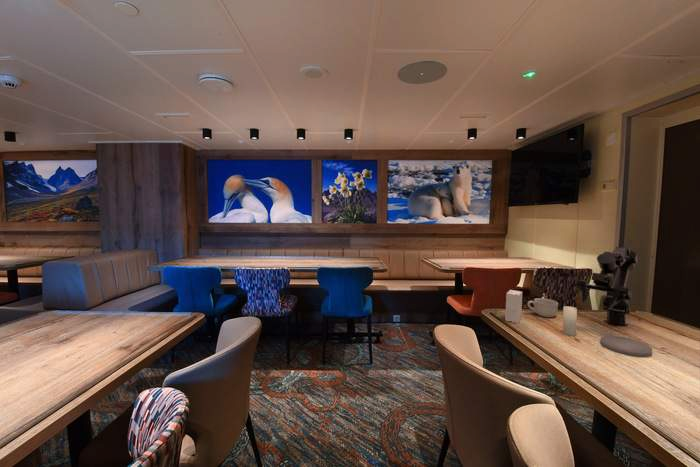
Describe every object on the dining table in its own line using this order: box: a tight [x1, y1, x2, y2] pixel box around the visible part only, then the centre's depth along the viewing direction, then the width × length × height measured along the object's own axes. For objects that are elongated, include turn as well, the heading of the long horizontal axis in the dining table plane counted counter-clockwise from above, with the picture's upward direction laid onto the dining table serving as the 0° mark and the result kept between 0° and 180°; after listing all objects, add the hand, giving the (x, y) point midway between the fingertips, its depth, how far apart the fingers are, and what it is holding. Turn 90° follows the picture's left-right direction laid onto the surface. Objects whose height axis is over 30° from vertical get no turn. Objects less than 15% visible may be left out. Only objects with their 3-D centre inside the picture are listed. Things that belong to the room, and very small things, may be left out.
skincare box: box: [504, 289, 523, 324], centre depth 147 cm, size 8×6×15 cm
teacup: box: [526, 297, 559, 318], centre depth 154 cm, size 14×11×8 cm
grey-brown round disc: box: [599, 335, 653, 358], centre depth 115 cm, size 15×15×2 cm
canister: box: [562, 305, 578, 337], centre depth 130 cm, size 5×5×12 cm
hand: (596, 304), depth 127 cm, fingers open, 9 cm apart
